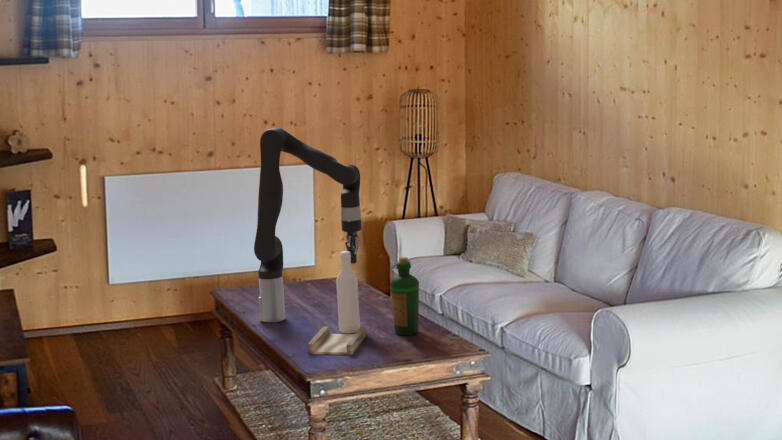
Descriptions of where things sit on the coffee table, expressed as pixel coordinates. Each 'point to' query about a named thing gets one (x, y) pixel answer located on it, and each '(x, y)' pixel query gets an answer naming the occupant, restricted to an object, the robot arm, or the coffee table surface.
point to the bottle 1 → (347, 296)
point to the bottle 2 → (405, 299)
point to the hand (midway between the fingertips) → (353, 263)
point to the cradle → (336, 342)
